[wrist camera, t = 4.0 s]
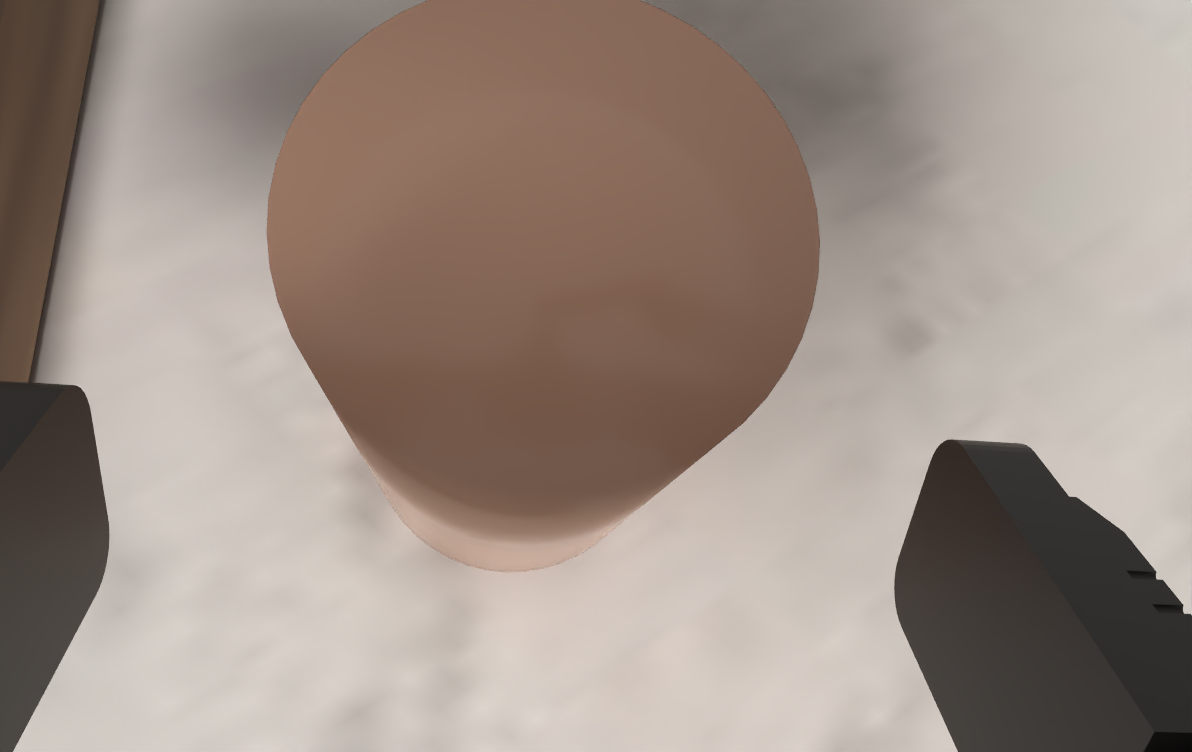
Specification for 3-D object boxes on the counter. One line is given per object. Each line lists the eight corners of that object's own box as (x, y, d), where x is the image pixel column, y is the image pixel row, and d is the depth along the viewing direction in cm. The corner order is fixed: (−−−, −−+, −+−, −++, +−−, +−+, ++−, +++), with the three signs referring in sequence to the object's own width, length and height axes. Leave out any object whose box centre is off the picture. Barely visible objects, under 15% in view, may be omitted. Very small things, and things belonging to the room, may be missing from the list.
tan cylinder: (652, 308, 18) (814, 7, 10) (647, 578, 17) (826, 509, 8) (384, 289, 18) (300, -46, 9) (357, 565, 17) (231, 479, 8)
